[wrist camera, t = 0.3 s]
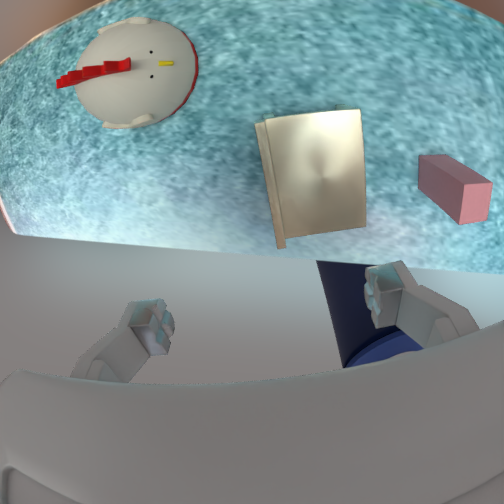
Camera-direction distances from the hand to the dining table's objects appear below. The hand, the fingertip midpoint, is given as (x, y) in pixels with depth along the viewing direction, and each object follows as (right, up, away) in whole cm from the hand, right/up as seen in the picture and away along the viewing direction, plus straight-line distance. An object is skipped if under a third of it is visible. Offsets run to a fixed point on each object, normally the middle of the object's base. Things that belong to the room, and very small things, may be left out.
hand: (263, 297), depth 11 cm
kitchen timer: (-14, +24, +17) cm, 32 cm away
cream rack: (+7, +13, +23) cm, 28 cm away
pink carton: (+25, +13, +23) cm, 37 cm away
